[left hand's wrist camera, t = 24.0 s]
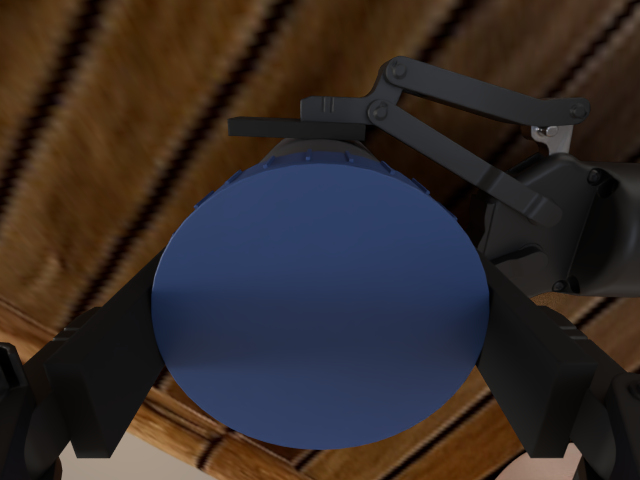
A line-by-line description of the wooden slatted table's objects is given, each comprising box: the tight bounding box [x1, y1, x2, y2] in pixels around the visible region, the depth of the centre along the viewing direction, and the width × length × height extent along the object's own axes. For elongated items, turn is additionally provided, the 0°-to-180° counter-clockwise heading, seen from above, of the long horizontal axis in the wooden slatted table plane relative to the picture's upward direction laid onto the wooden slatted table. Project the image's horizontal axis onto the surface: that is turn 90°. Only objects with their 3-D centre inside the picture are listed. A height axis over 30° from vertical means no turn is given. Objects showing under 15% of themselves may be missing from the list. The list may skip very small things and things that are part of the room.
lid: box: [151, 149, 490, 450], centre depth 11 cm, size 10×10×2 cm
